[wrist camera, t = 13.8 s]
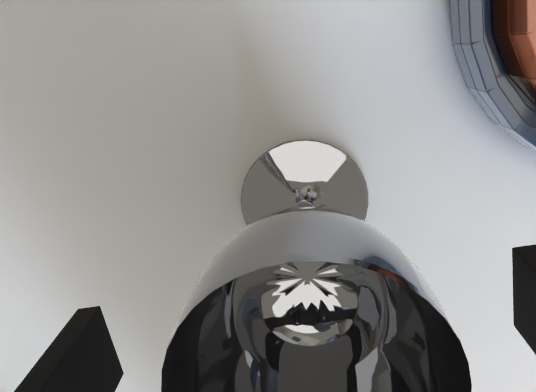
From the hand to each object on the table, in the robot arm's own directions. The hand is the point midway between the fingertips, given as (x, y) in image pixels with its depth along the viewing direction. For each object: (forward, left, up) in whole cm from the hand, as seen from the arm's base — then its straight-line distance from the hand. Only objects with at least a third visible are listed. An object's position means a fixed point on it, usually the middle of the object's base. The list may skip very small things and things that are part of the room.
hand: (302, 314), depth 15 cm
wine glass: (0, 0, -12) cm, 12 cm away
